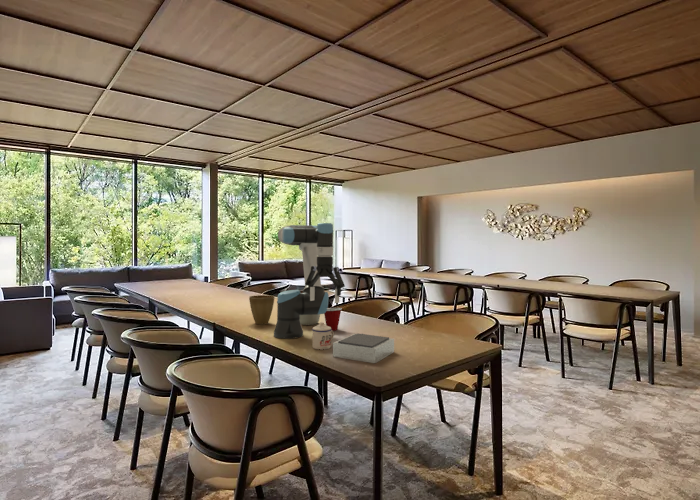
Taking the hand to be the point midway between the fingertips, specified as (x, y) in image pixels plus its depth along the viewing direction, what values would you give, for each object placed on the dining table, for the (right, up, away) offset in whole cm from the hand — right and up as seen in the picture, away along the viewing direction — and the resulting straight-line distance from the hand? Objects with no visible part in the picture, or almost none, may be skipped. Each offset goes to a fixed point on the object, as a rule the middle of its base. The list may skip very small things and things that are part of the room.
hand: (324, 301), depth 198 cm
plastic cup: (+2, -20, +38) cm, 43 cm away
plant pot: (-41, -20, +54) cm, 71 cm away
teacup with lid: (0, -21, +1) cm, 21 cm away
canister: (-13, -20, +54) cm, 59 cm away
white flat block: (+19, -22, -9) cm, 30 cm away
